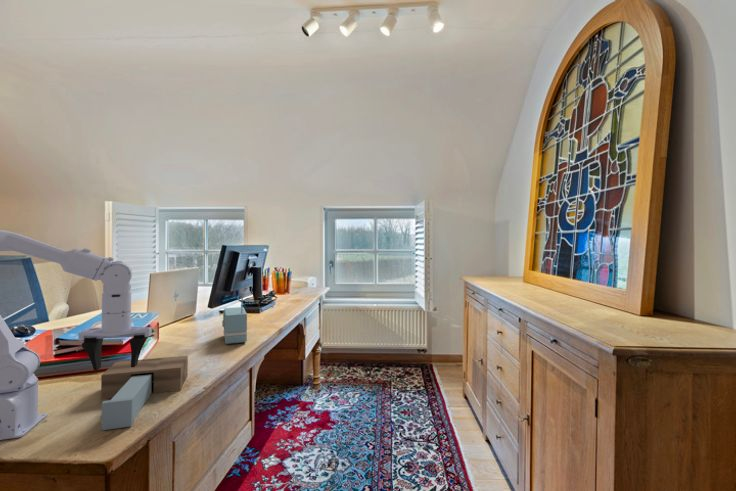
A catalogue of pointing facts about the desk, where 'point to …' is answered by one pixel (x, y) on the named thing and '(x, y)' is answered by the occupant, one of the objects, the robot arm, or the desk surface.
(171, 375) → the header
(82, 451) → the desk surface
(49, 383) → the desk surface
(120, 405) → the grey-blue rectangular bar
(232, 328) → the grey banded block
